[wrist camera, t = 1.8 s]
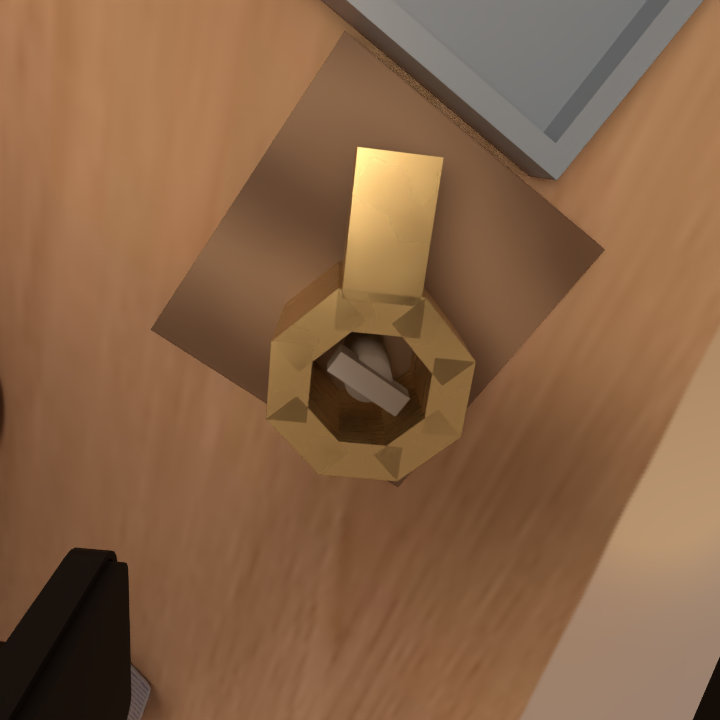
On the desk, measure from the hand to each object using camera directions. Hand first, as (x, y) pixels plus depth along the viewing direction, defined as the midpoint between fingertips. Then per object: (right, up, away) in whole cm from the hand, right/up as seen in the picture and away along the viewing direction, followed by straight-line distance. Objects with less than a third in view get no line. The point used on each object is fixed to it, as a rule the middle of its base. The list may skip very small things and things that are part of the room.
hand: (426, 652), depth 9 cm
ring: (-1, +7, +13) cm, 15 cm away
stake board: (0, +7, +14) cm, 16 cm away
